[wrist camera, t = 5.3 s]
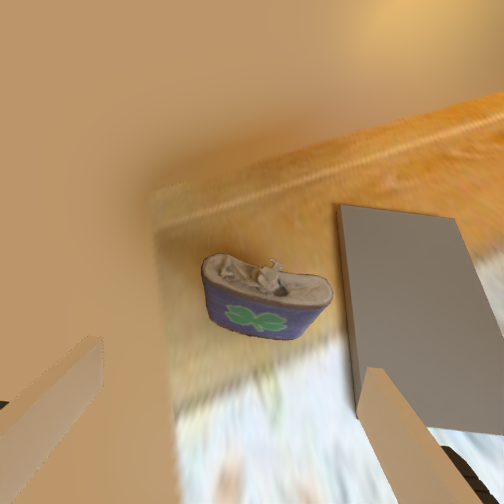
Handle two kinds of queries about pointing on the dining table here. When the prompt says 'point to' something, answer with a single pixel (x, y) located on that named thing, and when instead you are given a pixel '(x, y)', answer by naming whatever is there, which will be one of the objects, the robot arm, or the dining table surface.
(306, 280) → the flask
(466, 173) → the dining table surface
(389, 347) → the slate board
